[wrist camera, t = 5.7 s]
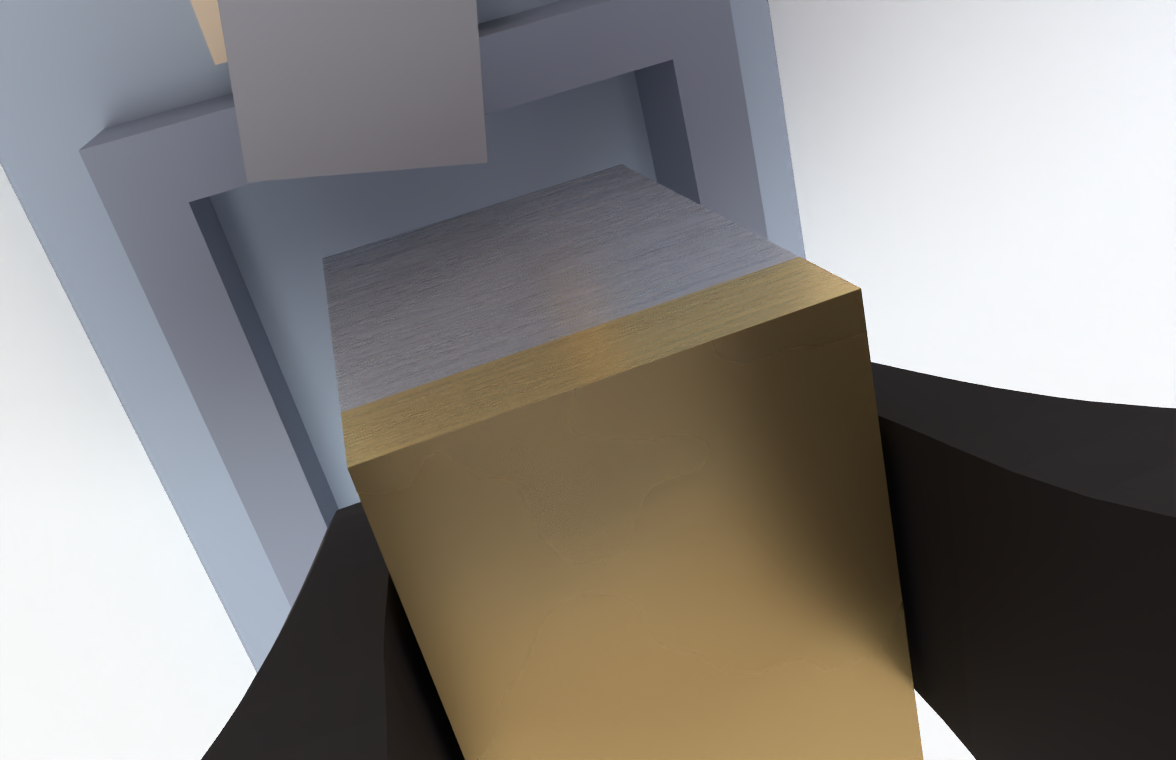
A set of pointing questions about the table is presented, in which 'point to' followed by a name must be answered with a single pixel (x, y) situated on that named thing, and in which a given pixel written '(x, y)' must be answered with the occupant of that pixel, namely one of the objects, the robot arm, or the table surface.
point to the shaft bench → (333, 200)
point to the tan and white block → (627, 480)
